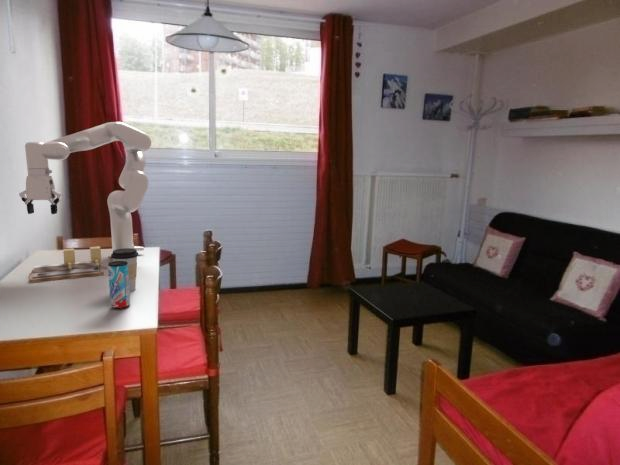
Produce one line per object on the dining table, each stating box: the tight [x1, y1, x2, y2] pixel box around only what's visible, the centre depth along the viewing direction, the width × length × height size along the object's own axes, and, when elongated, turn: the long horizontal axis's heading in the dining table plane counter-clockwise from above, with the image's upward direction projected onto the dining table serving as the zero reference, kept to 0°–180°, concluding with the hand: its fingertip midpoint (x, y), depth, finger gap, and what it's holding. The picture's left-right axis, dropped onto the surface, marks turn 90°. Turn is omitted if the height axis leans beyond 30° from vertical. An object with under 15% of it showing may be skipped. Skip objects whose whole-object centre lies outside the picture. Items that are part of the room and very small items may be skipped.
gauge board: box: [29, 260, 105, 284], centre depth 182 cm, size 26×16×3 cm, turn 119°
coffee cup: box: [110, 248, 139, 293], centre depth 161 cm, size 9×9×15 cm
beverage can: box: [107, 261, 131, 310], centre depth 144 cm, size 6×6×15 cm
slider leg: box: [62, 247, 76, 270], centre depth 182 cm, size 4×10×7 cm, turn 29°
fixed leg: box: [89, 245, 102, 268], centre depth 187 cm, size 4×10×7 cm, turn 29°
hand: (42, 213), depth 184 cm, fingers open, 9 cm apart
